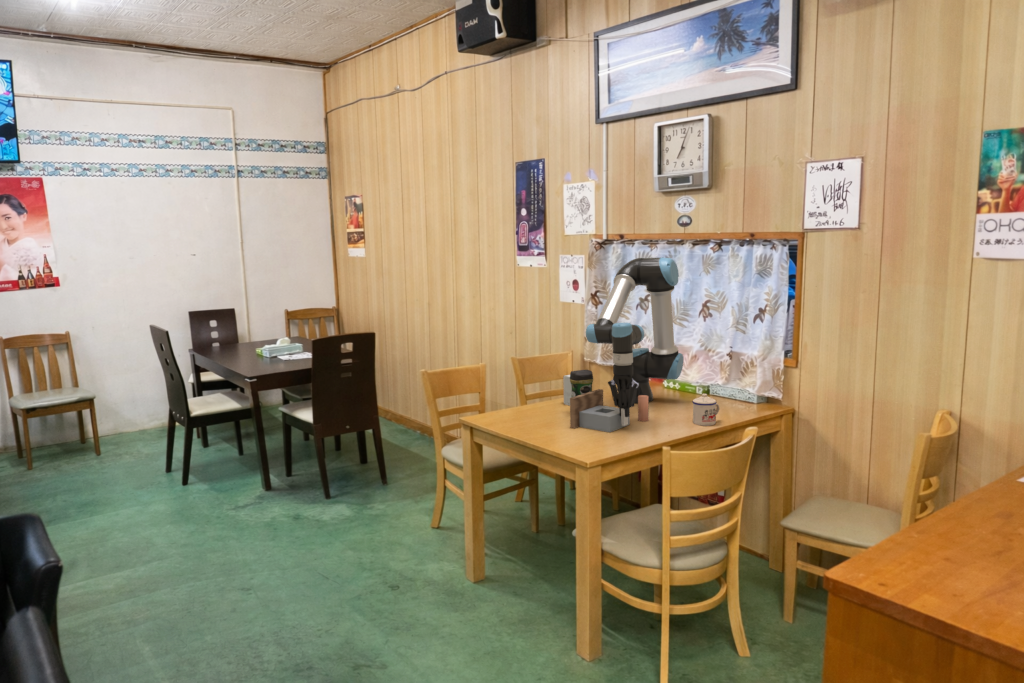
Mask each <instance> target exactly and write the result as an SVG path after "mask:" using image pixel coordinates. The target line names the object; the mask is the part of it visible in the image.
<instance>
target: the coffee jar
mask: <svg viewBox="0 0 1024 683" xmlns="http://www.w3.org/2000/svg"><path fill="white" fill-rule="evenodd" d="M569 375H570V382H571V386H572V395H571V398H572V397H575V396H578V395H581V394H585V393H588V392H591V391H593V383H594V376H593V372H592V370H589V369H578V370H572V371H571V370H570V374H569Z"/></svg>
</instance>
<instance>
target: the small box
mask: <svg viewBox="0 0 1024 683" xmlns="http://www.w3.org/2000/svg"><path fill="white" fill-rule="evenodd" d="M562 379H563V382H562V383H563V405H566V406H569V407H570V398H571V395H572V386H571V382H570V374H567V375H563V378H562Z"/></svg>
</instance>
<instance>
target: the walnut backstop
mask: <svg viewBox="0 0 1024 683" xmlns="http://www.w3.org/2000/svg"><path fill="white" fill-rule="evenodd" d="M598 405H602V406H604V389H601V388H600V389H599V388H598V389H595V390H592V391H591V392H588V393H585V394H581V395H578V396H575V397H572V398H570V406H569V412H570V413H569V414H570V415H569V416H570V417H569V418H570V419H569V420H570V422H569V424H570V429H578V428H581V427H580V423H579V412H581V411H584V410H586V409H589V408H592V407H595V406H598Z"/></svg>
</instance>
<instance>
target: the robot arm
mask: <svg viewBox="0 0 1024 683" xmlns="http://www.w3.org/2000/svg"><path fill="white" fill-rule="evenodd" d="M679 277H680V276H679V268H678V265H677V263H676V261H675V259H673V258H670V257H662V256H661V257H638V258H634V259H631V260H630V261H628V262H626V263H625V264H624V265H623V266H621V267H620V269H619V270H618V271H617V273H616V274H615V276H614V278H613V286H612V288H611V290H610V292H609V295H608V297H607V299H606V301H605V303H604V306H603V308H602V309H601V312H600V314H599V316H598V319H597V320H596V322H595V323H590V324H589V325H586V326H587V327H586V328H585V330H586V331H585V337H586V341H588V342H589V343H591V344H604V345H606V344H607V345H608V344H611V345H612V363H613V365H612V371H613V372H612V373H613V376H612V377H613V378H612V379H611V380H608V381H607V384H608V386H609V388H610V391H611V396H612V400H613V404H614V407H617V408H619V411H620V416H621V420H622V426H625V425H627V426H629V425H628V417H629V415H630V413H631V412H630V411H629V410H630V408H633V407H635V404H638V396H639V395H647V396H648V403H651V402H652V401H653V400H654V394H653V391H652V388H651V385H650V379H659V380H667V381H668V380H677V379H679V377H680V376H681V374H682V370H683V367H684V354H683V353H681V352H679V347H677V346H676V345H675V335H674V319H673V305H672V304H673V302H672V292H673V291H674V290H675V287H676V286H677V285H678V283H679ZM638 286H646V288H645V289H646V292H647V293H649V294H650V304H651V307H650V308H651V317H652V318H651V319H652V332H653V347H652V348H651V349H649V348H648V347H640V348H639V347H637V348H633V346H634V345H638V344H640V343H641V342H643V340H644V337H645V331H644V328H643V327H642V325H641V326H640V325H639V324H632V323H631V322H618V321H619V319H620V316H621V314H622V312H623V310H624V307H625V305H626V303H627V300H628V298H629V296H630V294H631V292H633V291H634V290H635V288H636V287H638ZM629 412H630V413H629ZM625 427H626V426H625Z"/></svg>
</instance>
